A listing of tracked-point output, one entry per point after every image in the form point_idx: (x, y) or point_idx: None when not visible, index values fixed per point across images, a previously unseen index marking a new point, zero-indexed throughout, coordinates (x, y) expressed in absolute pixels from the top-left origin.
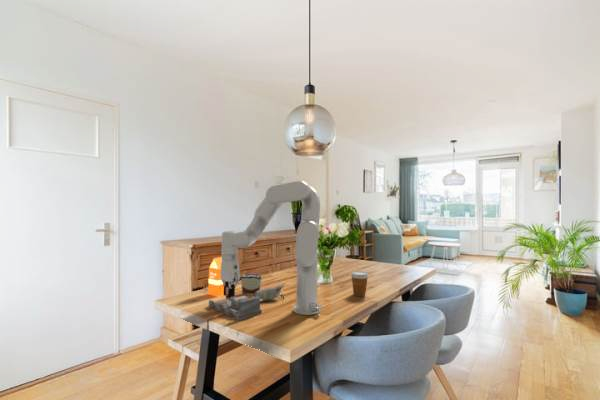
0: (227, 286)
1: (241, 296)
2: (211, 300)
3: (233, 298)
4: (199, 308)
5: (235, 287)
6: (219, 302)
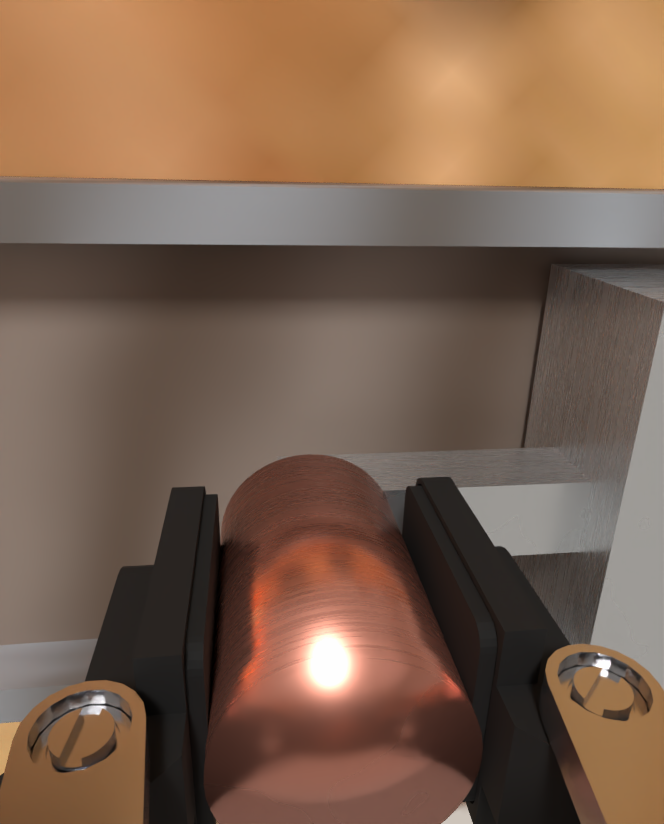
0: (244, 793)
1: (657, 389)
2: (9, 702)
3: (602, 605)
4: (4, 754)
5: (638, 664)
6: (59, 529)
